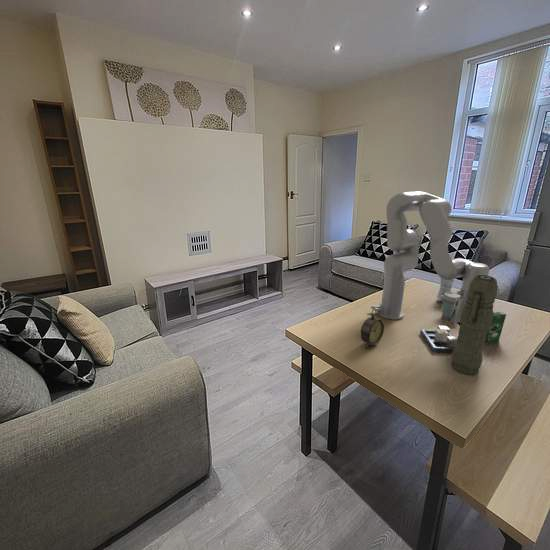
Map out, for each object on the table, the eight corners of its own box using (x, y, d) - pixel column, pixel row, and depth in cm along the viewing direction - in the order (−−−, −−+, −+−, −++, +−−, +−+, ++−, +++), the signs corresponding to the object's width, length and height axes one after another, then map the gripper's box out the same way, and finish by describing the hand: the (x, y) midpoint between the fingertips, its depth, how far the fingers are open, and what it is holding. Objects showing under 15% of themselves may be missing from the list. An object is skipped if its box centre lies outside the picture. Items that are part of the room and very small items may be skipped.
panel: (432, 352, 115) (434, 341, 113) (420, 333, 129) (421, 323, 127) (462, 354, 114) (465, 343, 112) (446, 335, 128) (448, 324, 126)
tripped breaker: (437, 342, 120) (439, 332, 118) (434, 338, 123) (436, 328, 121) (446, 343, 119) (448, 332, 118) (443, 339, 122) (445, 328, 121)
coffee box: (493, 338, 125) (500, 310, 121) (499, 341, 122) (507, 313, 118) (478, 341, 123) (485, 313, 118) (484, 344, 120) (492, 316, 116)
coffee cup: (453, 313, 148) (458, 291, 144) (462, 321, 140) (467, 298, 136) (436, 313, 148) (440, 291, 145) (443, 320, 140) (448, 298, 137)
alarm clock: (368, 351, 116) (372, 315, 111) (356, 346, 120) (360, 310, 115) (383, 342, 123) (387, 307, 117) (371, 337, 127) (375, 303, 121)
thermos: (482, 365, 107) (505, 275, 96) (475, 381, 99) (499, 285, 88) (454, 356, 113) (473, 270, 102) (446, 370, 105) (465, 278, 93)
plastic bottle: (452, 303, 159) (459, 269, 153) (439, 303, 159) (446, 269, 153) (445, 299, 165) (452, 265, 159) (434, 299, 165) (440, 265, 159)
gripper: (455, 297, 111) (447, 339, 116) (498, 298, 109) (487, 341, 114) (447, 290, 118) (439, 330, 123) (487, 291, 116) (477, 332, 121)
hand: (463, 335), depth 119 cm, fingers closed
